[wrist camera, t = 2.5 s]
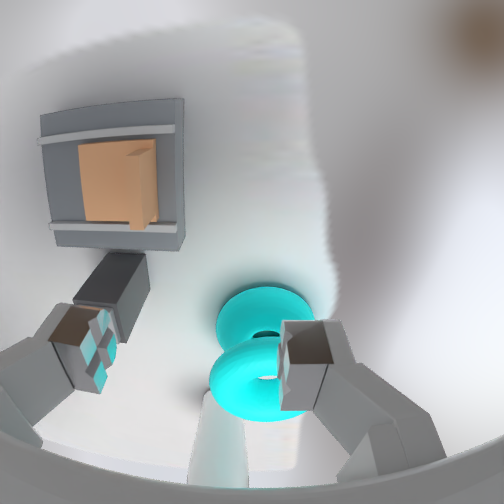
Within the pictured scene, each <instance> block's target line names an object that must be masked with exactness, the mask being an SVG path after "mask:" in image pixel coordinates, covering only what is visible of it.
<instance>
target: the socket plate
mask: <svg viewBox="0 0 504 504" xmlns="http://www.w3.org/2000/svg"><path fill="white" fill-rule="evenodd" d="M183 118H184V99H158V100H144V101H132V102H122V103H113V104H104V105H97V106H90V107H83V108H77V109H71V110H65V111H60V112H54V113H49V114H45V115H40V121H41V137H40V138H37V141H38V145H42V153H43V163H44V172H45V180H46V188H47V195H48V201H49V208H50V213H51V219H52V221H51V222H50V223H49V229H50V230H54V234H55V239H56V244H57V246H62V247H85V248H108V249H131V250H155V251H179V249H180V247H181V245H182V243H183V240H184V238H185V216H184V176H183ZM134 139H156V166H157V190H158V208H159V219H158V220H157V222H150V223H149V224H148V225H147V227H146V228H145V229H144V230H130V224H129V221H86V216H85V209H84V202H83V194H82V185H81V176H80V165H79V152H78V145H80V144H84V143H94V142H105V141H118V140H134Z"/></svg>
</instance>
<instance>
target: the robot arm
mask: <svg viewBox="0 0 504 504" xmlns="http://www.w3.org/2000/svg"><path fill="white" fill-rule="evenodd" d="M110 321H111V320H110V317H109V314H108V311H107V310H105V309H102V308H95V307H88V306H82V305H73V304H67V303H59V304H57V305H56V306H55V307H54V309H53V310H52V311H51V313H50V314H49V315H48V317H47V318H46V319H45V321H44V322H43V323H42V325H41V326H40V328H39V329H38V330H37V332H36V333H35V335H34V336H33V338H31V337H27V338H26V339H24V340H22V341H20V342H18V343H16V344H15V345H13V346H11V347H9V348H7V349H6V350H4V351H2V352H0V504H504V435H502V436H500V437H498V438H496V439H493V440H491V441H489V442H486V443H484V444H482V445H479V446H477V447H474V448H472V449H469V450H467V451H464V452H461V453H458V454H456V455H453V456H450V457H447V456H446V454H445V451H444V449H443V446H442V443H441V441H440V438H439V436H438V433H437V431H436V428H435V426H434V423H433V421H432V418H431V416H430V414H429V413H428V412H426V411H425V410H423V409H422V408H421V407H419V406H418V405H416V404H415V403H414V402H413V401H411V400H410V399H409V398H407V397H406V396H405V395H403V394H402V393H401V392H399V391H398V390H397V389H396V388H394V387H393V386H392V385H390V384H389V383H388V382H386V381H385V380H384V379H382V378H381V377H380V376H378V375H377V374H376V373H374V372H373V371H372V370H370V369H369V368H368V367H366V366H365V365H364V364H363V363H356V360H355V358H354V355H353V352H352V349H351V346H350V343H349V341H348V338H347V335H346V332H345V330H344V327H343V325H342V322H341V321H340V320H339V319H326V320H282V323H281V328H280V337H281V342H280V343H279V344H278V351H277V378H278V379H279V380H280V385H279V402H280V411H313V413H314V414H315V415H316V416H317V418H318V419H319V420H320V421H321V422H322V423H323V425H324V426H325V427H326V428H327V429H328V431H329V432H330V433H331V434H332V435H333V436H334V437H335V439H336V440H337V441H338V442H339V443H340V444H341V445H342V446H343V448H344V449H345V450H346V451H347V452H348V453H349V454H350V456H351V457H350V458H349V459H348V461H347V462H346V463H345V465H344V466H343V467H342V469H341V470H340V471H339V473H338V474H337V482H338V483H333V484H324V485H314V486H302V487H286V488H228V487H212V486H200V485H190V484H181V483H174V482H167V481H160V480H154V479H148V478H143V477H138V476H133V475H128V474H124V473H119V472H115V471H111V470H107V469H103V468H99V467H96V466H92V465H89V464H85V463H82V462H79V461H76V460H72V459H69V458H66V457H63V456H60V455H58V454H55V453H52V452H49V451H47V450H44V449H41V447H42V444H43V440H42V438H41V437H40V435H39V434H38V433H37V432H36V431H35V429H34V428H33V426H34V425H35V424H36V423H37V422H39V421H40V420H41V419H42V418H43V417H44V416H46V415H47V414H48V413H49V412H50V411H51V410H53V409H54V408H55V407H56V406H57V405H58V404H60V403H61V402H62V401H63V400H64V399H65V398H67V397H68V396H69V395H70V394H71V393H72V392H74V389H76V390H81V391H86V392H91V393H96V394H101V391H102V389H103V386H104V384H105V381H106V379H107V377H108V376H107V374H106V371H105V370H106V369H107V368H108V367H110V366H111V365H112V364H113V362H114V359H115V356H116V349H117V346H116V338H115V335H114V333H113V332H112V330H111V329H110V328H109V327H108V325H109V323H110Z"/></svg>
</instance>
